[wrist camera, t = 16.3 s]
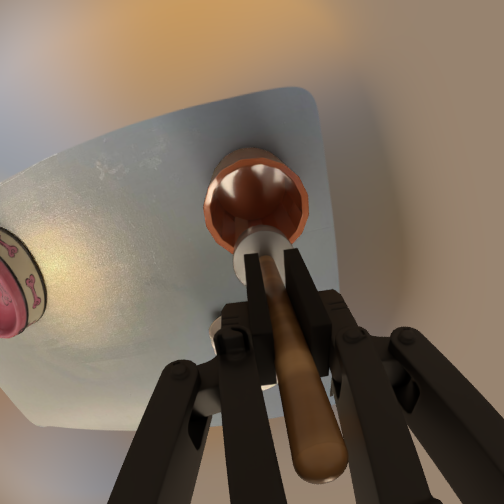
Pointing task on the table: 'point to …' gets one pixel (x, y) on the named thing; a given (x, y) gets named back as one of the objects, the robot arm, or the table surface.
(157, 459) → the robot arm
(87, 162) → the table surface
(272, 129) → the table surface
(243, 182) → the crock
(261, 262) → the toilet plunger
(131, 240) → the table surface
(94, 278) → the table surface
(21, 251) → the dog bowl
